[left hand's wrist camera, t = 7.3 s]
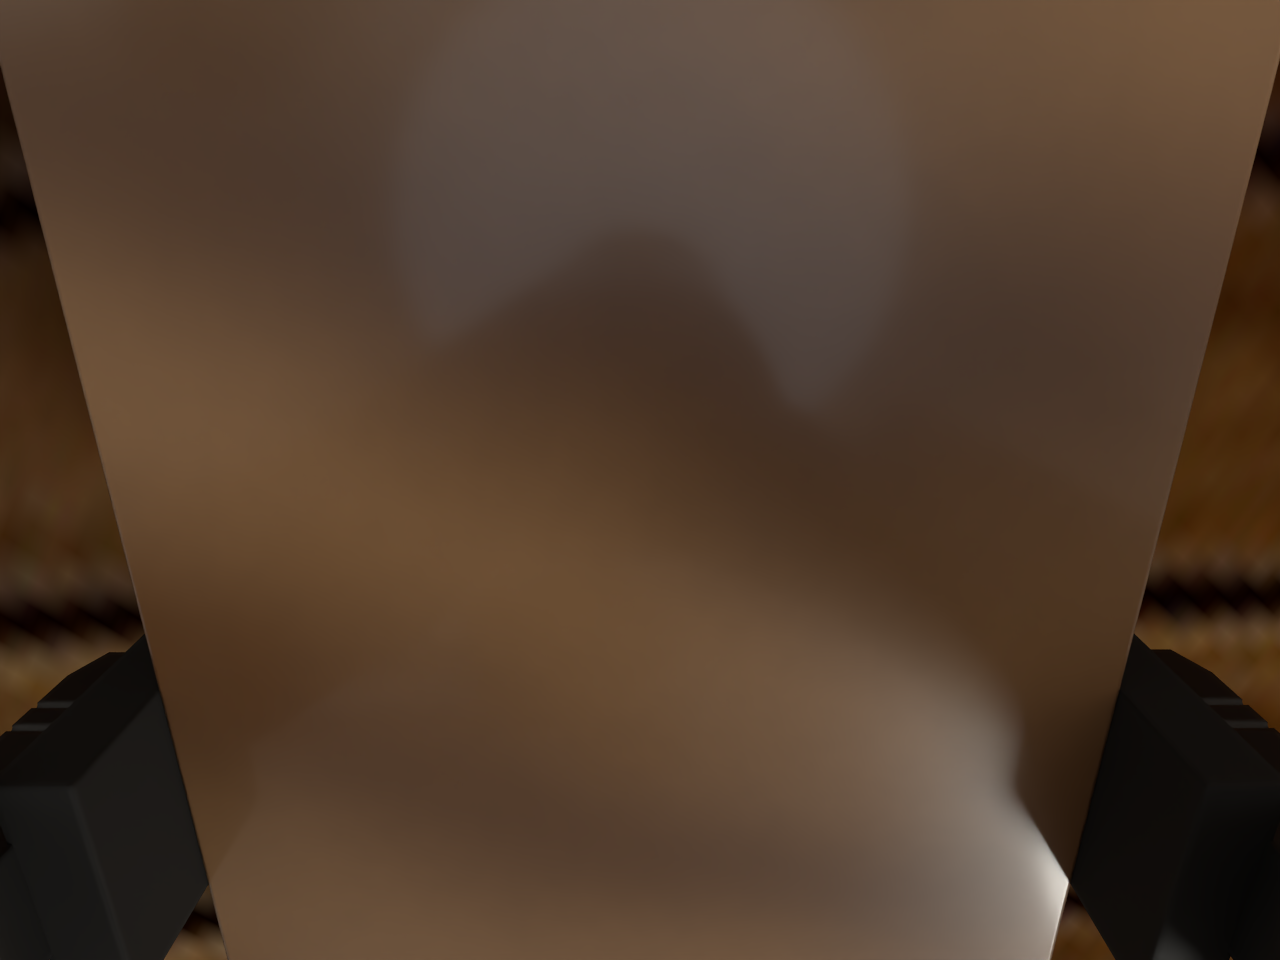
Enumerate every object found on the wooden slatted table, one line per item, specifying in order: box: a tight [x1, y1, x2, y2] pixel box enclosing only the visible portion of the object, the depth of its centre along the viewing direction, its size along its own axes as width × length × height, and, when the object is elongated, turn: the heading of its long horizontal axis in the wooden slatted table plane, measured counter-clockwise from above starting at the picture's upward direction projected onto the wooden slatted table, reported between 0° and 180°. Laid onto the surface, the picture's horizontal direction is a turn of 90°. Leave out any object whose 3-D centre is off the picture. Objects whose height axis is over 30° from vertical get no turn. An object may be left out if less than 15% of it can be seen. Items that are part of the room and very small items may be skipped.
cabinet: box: [0, 0, 1280, 960], centre depth 11 cm, size 19×10×8 cm, turn 0°
